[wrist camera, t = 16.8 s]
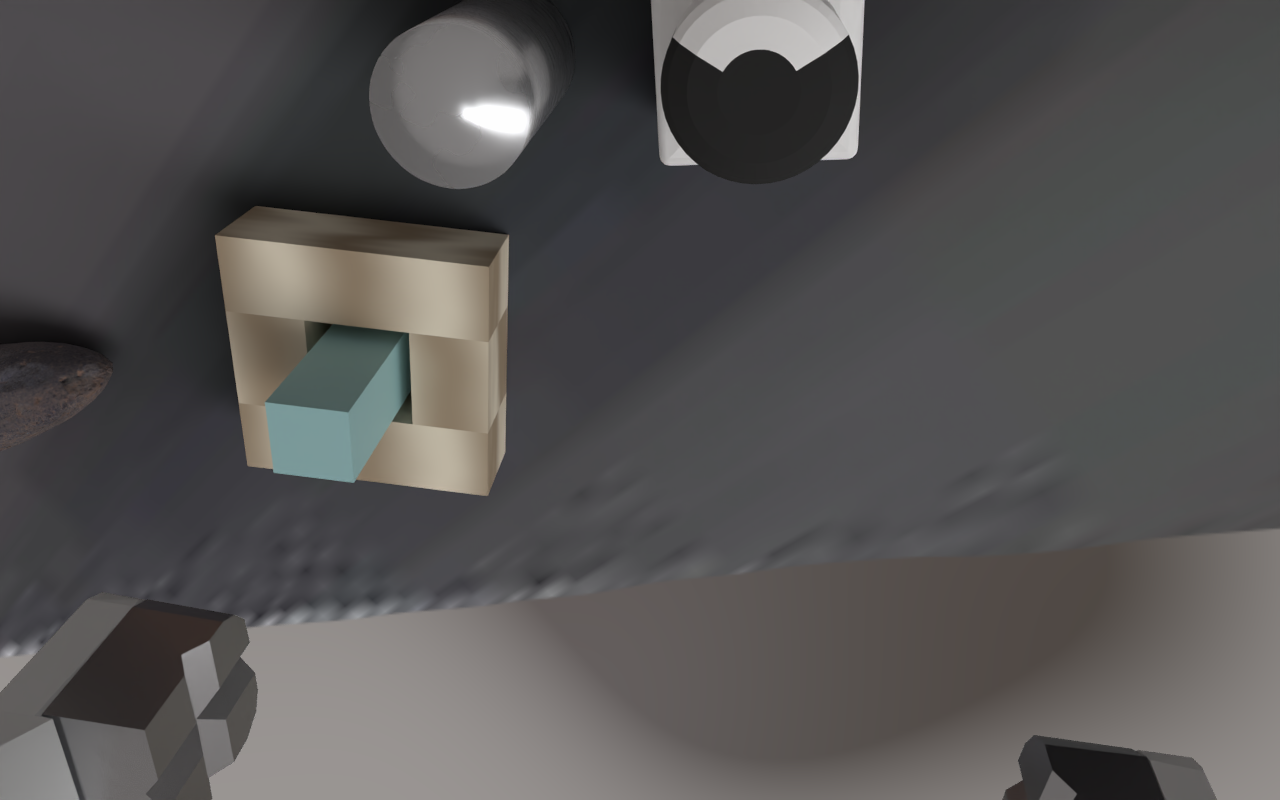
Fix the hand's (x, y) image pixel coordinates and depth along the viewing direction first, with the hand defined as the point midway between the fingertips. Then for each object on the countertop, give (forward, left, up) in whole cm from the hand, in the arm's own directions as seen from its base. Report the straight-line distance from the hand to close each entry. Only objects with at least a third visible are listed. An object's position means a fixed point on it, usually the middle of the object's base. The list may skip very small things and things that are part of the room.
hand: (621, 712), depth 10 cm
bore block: (+15, +14, -35) cm, 40 cm away
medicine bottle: (-1, -2, -35) cm, 35 cm away
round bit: (+9, 0, -35) cm, 36 cm away
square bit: (+15, +14, -35) cm, 40 cm away
